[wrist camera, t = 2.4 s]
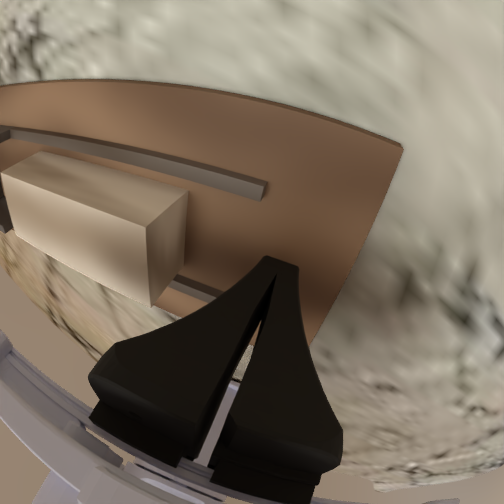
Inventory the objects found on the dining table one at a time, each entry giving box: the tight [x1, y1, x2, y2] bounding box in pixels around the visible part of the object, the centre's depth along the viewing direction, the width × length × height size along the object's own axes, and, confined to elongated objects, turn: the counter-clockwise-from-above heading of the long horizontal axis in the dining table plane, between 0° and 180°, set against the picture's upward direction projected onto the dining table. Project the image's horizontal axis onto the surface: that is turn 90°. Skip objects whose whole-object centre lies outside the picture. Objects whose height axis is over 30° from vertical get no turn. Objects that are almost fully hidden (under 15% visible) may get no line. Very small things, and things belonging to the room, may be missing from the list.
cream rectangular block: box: [1, 151, 189, 308], centre depth 12 cm, size 4×10×3 cm, turn 78°
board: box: [0, 79, 404, 347], centre depth 13 cm, size 12×26×3 cm, turn 78°
